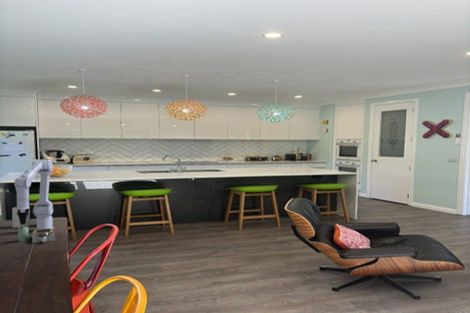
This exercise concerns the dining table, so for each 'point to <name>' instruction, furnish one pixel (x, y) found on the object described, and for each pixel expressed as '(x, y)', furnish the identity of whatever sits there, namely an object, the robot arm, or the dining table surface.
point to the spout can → (23, 234)
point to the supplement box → (17, 222)
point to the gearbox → (43, 235)
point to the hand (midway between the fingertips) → (23, 223)
